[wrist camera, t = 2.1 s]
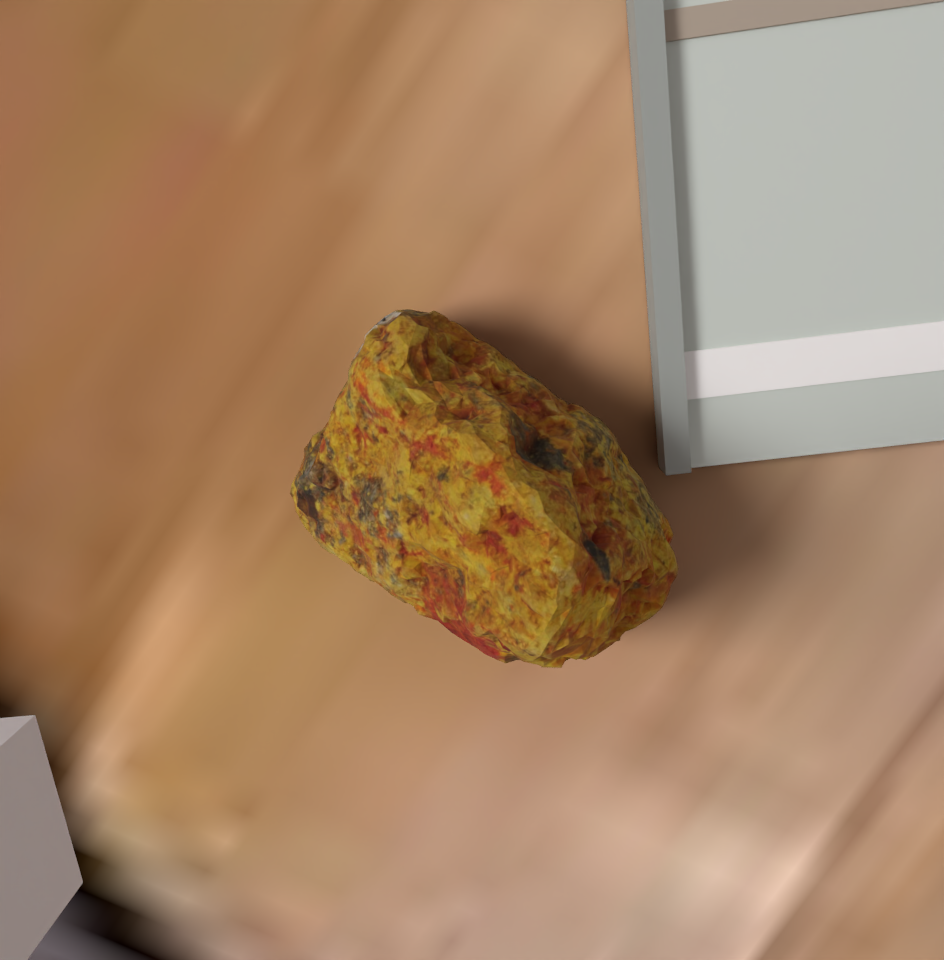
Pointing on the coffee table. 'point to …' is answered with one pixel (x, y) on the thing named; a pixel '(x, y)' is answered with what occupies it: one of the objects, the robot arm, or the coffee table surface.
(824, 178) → the mat
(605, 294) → the coffee table surface
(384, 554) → the rock
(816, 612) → the coffee table surface
